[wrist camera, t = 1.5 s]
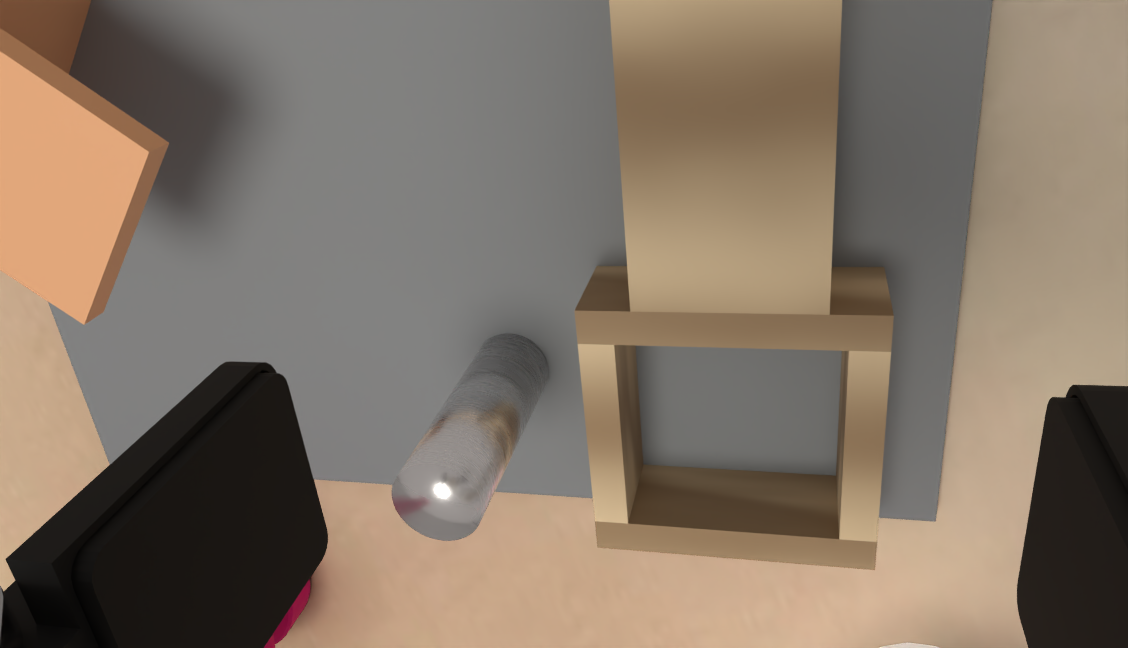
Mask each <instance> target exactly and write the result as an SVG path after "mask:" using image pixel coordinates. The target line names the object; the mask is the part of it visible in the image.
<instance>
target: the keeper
mask: <svg viewBox="0 0 1128 648" xmlns="http://www.w3.org/2000/svg"><path fill="white" fill-rule="evenodd" d="M90 3H91V0H0V270H1V271H2V272H4V273H6V274H7V275H9V276H10V277H12V278H13V279H15V280H16V281H18V282H19V283H21V284H22V285H24V286H25V287H27V288H28V289H30V290H31V291H33V292H35V293H36V294H38V295H39V296H41V297H42V298H44V299H45V300H47V301H48V302H50V303H51V304H53V305H54V306H56V307H57V308H59V309H61V310H62V311H64V312H65V313H67V314H68V315H70V316H71V317H73V318H74V319H76V320H77V321H79V322H80V323H82V324H83V325H85V324H86V323H88V322H89V321H91V320H92V319H94V318H95V317H97V316H98V315H100V314H101V313H103V312H104V310H105V307H106V305H107V302H108V299H109V297H110V294H111V292H112V289H113V287H114V284H115V281H116V279H117V276H118V274H119V271H120V269H121V266H122V263H123V261H124V258H125V256H126V253H127V250H128V248H129V245H130V243H131V240H132V238H133V235H134V232H135V230H136V227H137V225H138V222H139V220H140V217H141V214H142V212H143V209H144V207H145V204H146V202H147V199H148V196H149V194H150V191H151V189H152V186H153V183H154V181H155V178H156V176H157V173H158V171H159V168H160V165H161V163H162V160H163V158H164V155H165V153H166V150H167V147H168V145H169V142H167V141H166V140H164V139H163V138H161V137H160V136H159V135H157V134H156V133H154V132H153V131H151V130H150V129H148V128H147V127H145V126H144V125H142V124H141V123H139V122H138V121H136V120H135V119H134V118H132V117H131V116H129V115H128V114H126V113H125V112H123V111H122V110H120V109H119V108H117V107H116V106H114V105H113V104H111V103H110V102H108V101H107V100H106V99H104V98H103V97H101V96H100V95H98V94H97V93H95V92H94V91H92V90H91V89H89V88H88V87H86V86H85V85H83V84H82V83H80V82H79V81H78V80H76V79H75V78H73V77H72V76H70V75H69V72H70V69H71V65H72V62H73V59H74V55H75V52H76V49H77V46H78V42H79V39H80V36H81V32H82V29H83V26H84V23H85V19H86V16H87V13H88V9H89V6H90Z"/></svg>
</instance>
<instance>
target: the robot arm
mask: <svg viewBox="0 0 1128 648" xmlns="http://www.w3.org/2000/svg"><path fill="white" fill-rule="evenodd" d="M327 543H328V533H327V528H326V524H325V520H324V517H323V513H322V509H321V505H320V502H319V498H318V494H317V490H316V487H315V483H314V479H313V475H312V472H311V468H310V464H309V461H308V457H307V453H306V449H305V446H304V442H303V438H302V434H301V431H300V427H299V423H298V419H297V416H296V412H295V408H294V405H293V401H292V397H291V393H290V390H289V386H288V383H287V380H286V379H285V377H284V376H283V375H281V374H279V373H276V370H275V369H274V368H273V366H272V365H270V364H268V363H267V362H235V361H230V362H225V363H223V364H221V365H220V366H219V367H217V368H216V369H215V370H214V371H213V372H212V373H211V374H210V375H209V376H208V377H206V378H205V379H204V380H203V381H202V382H201V383H200V384H199V385H198V386H196V387H195V388H194V389H193V390H192V391H191V392H190V393H189V394H188V395H187V396H185V397H184V398H183V399H182V400H181V401H180V402H179V403H178V404H177V405H175V406H174V407H173V408H172V409H171V410H170V411H169V412H168V413H167V414H166V415H164V416H163V417H162V418H161V419H160V420H159V421H158V422H157V423H156V424H154V425H153V426H152V427H151V428H150V429H149V430H148V431H147V432H146V433H145V434H143V435H142V436H141V437H140V438H139V439H138V440H137V441H136V442H135V443H133V444H132V445H131V446H130V447H129V448H128V449H127V450H126V451H125V452H124V453H122V454H121V455H120V456H119V457H118V458H117V459H116V460H115V461H114V462H112V463H111V464H110V465H109V466H108V467H107V468H106V469H105V470H104V471H103V472H101V473H100V474H99V475H98V476H97V477H96V478H95V479H94V480H93V481H91V482H90V483H89V484H88V485H87V486H86V487H85V488H84V489H83V490H82V491H80V492H79V493H78V494H77V495H76V496H75V497H74V498H73V499H72V500H70V501H69V502H68V503H67V504H66V505H65V506H64V507H63V508H62V509H61V510H59V511H58V512H57V513H56V514H55V515H54V516H53V517H52V518H51V519H49V520H48V521H47V522H46V523H45V524H44V525H43V526H42V527H41V528H40V529H38V530H37V531H36V532H35V533H34V534H33V535H32V536H31V537H30V538H28V539H27V540H26V541H25V542H24V543H23V544H22V545H21V546H20V547H19V548H17V549H16V550H15V551H14V552H13V553H12V554H11V555H10V556H9V557H7V558H6V561H7V563H8V565H9V568H10V570H11V572H12V574H13V576H14V578H15V580H16V581H15V582H14V583H13V584H11V585H10V586H9V587H8V588H7V589H6V590H5V591H4V592H3V590H2V588H1V586H0V648H264V647H265V645H266V644H267V642H268V641H269V639H270V638H271V636H272V635H273V633H274V632H275V630H276V629H277V627H278V626H279V624H280V623H281V621H282V620H283V618H284V617H285V615H286V614H287V612H288V611H289V609H290V608H291V606H292V605H293V603H294V601H295V600H296V598H297V597H298V595H299V594H300V592H301V591H302V589H303V588H304V586H305V585H306V583H307V582H308V580H309V579H310V577H311V576H312V574H313V573H314V571H315V570H316V568H317V567H318V565H319V564H320V562H321V561H322V559H323V557H324V555H325V552H326V549H327ZM1017 604H1018V611H1019V616H1020V620H1021V624H1022V627H1023V630H1024V634H1025V637H1026V641H1027V644H1028V648H1128V386H1098V385H1072V386H1071V387H1070V388H1069V390H1068V392H1067V395H1066V398H1061V397H1052V398H1051V399H1050V400H1049V403H1048V405H1047V410H1046V415H1045V421H1044V427H1043V433H1042V439H1041V445H1040V451H1039V457H1038V463H1037V469H1036V475H1035V481H1034V487H1033V493H1032V499H1031V506H1030V512H1029V518H1028V524H1027V530H1026V536H1025V542H1024V548H1023V554H1022V560H1021V566H1020V572H1019V578H1018V585H1017Z"/></svg>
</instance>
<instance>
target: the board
mask: <svg viewBox="0 0 1128 648" xmlns="http://www.w3.org/2000/svg"><path fill="white" fill-rule="evenodd" d="M992 1H993V0H842V17H841V42H840V67H839V92H838V118H837V143H836V168H835V193H834V218H833V244H832V267H884V269H885V274H886V279H887V284H888V289H889V294H890V299H891V304H892V309H893V314H894V320H893V333H892V347H891V360H890V374H889V387H888V401H887V414H886V427H885V441H884V454H883V468H882V481H881V495H880V508H879V518H891V519H906V520H921V521H936V514H937V504H938V495H939V486H940V477H941V468H942V459H943V450H944V440H945V431H946V422H947V413H948V404H949V395H950V385H951V376H952V367H953V358H954V349H955V340H956V330H957V321H958V312H959V303H960V294H961V285H962V275H963V266H964V257H965V248H966V239H967V230H968V220H969V211H970V202H971V193H972V184H973V175H974V166H975V156H976V147H977V138H978V129H979V120H980V111H981V101H982V92H983V83H984V74H985V65H986V56H987V46H988V37H989V28H990V19H991V10H992ZM69 75H70V76H72V77H73V78H75V79H76V80H78V81H79V82H80V83H82V84H83V85H85V86H86V87H88V88H89V89H91V90H92V91H94V92H95V93H97V94H98V95H100V96H101V97H103V98H104V99H106V100H107V101H108V102H110V103H111V104H113V105H114V106H116V107H117V108H119V109H120V110H122V111H123V112H125V113H126V114H128V115H129V116H131V117H132V118H134V119H135V120H136V121H138V122H139V123H141V124H142V125H144V126H145V127H147V128H148V129H150V130H151V131H153V132H154V133H156V134H157V135H159V136H160V137H161V138H163V139H164V140H166V141H167V142H169V145H168V147H167V150H166V153H165V155H164V158H163V160H162V163H161V165H160V168H159V171H158V173H157V176H156V178H155V181H154V183H153V186H152V189H151V191H150V194H149V196H148V199H147V202H146V204H145V207H144V209H143V212H142V214H141V217H140V220H139V222H138V225H137V227H136V230H135V232H134V235H133V238H132V240H131V243H130V245H129V248H128V250H127V253H126V256H125V258H124V261H123V263H122V266H121V269H120V271H119V274H118V276H117V279H116V281H115V284H114V287H113V289H112V292H111V294H110V297H109V299H108V302H107V305H106V307H105V310H104V312H103V313H101V314H100V315H98V316H97V317H95V318H94V319H92V320H91V321H89V322H88V323H86V324H85V325H83V324H82V323H80V322H79V321H77V320H76V319H74V318H73V317H71V316H70V315H68V314H67V313H65V312H64V311H62V310H61V309H59V308H57V307H56V306H54V305H53V304H51V303H50V302H48V303H49V306H50V308H51V311H52V314H53V316H54V319H55V321H56V324H57V327H58V329H59V332H60V335H61V337H62V340H63V342H64V345H65V348H66V350H67V353H68V356H69V358H70V361H71V364H72V366H73V369H74V371H75V374H76V377H77V379H78V382H79V385H80V387H81V390H82V392H83V395H84V398H85V400H86V403H87V406H88V408H89V411H90V414H91V416H92V419H93V421H94V424H95V427H96V429H97V432H98V435H99V437H100V440H101V442H102V445H103V448H104V450H105V453H106V456H107V458H108V461H109V463H110V464H111V463H112V462H114V461H115V460H116V459H117V458H118V457H119V456H120V455H121V454H122V453H124V452H125V451H126V450H127V449H128V448H129V447H130V446H131V445H132V444H133V443H135V442H136V441H137V440H138V439H139V438H140V437H141V436H142V435H143V434H145V433H146V432H147V431H148V430H149V429H150V428H151V427H152V426H153V425H154V424H156V423H157V422H158V421H159V420H160V419H161V418H162V417H163V416H164V415H166V414H167V413H168V412H169V411H170V410H171V409H172V408H173V407H174V406H175V405H177V404H178V403H179V402H180V401H181V400H182V399H183V398H184V397H185V396H187V395H188V394H189V393H190V392H191V391H192V390H193V389H194V388H195V387H196V386H198V385H199V384H200V383H201V382H202V381H203V380H204V379H205V378H206V377H208V376H209V375H210V374H211V373H212V372H213V371H214V370H215V369H216V368H217V367H219V366H220V365H221V364H223V363H225V362H230V361H235V362H267V363H268V364H270V365H272V366H273V368H274V369H275V370H276V373H279V374H281V375H283V376H284V377H285V379H286V380H287V383H288V386H289V390H290V393H291V397H292V401H293V405H294V408H295V412H296V416H297V419H298V423H299V427H300V431H301V434H302V438H303V442H304V446H305V449H306V453H307V457H308V461H309V464H310V468H311V472H312V475H313V479H316V480H331V481H346V482H361V483H375V484H390V485H393V483H394V481H395V479H396V477H397V476H398V474H399V472H400V471H401V469H402V468H403V466H404V465H405V463H406V462H407V460H408V459H409V457H410V455H411V454H412V452H413V451H414V449H415V448H416V446H417V445H418V443H419V442H420V440H421V439H422V437H423V435H424V434H425V432H426V431H427V429H428V428H429V426H430V425H431V423H432V422H433V420H434V418H435V417H436V415H437V414H438V412H439V411H440V409H441V408H442V406H443V405H444V403H445V402H446V400H447V398H448V397H449V395H450V394H451V392H452V391H453V389H454V388H455V386H456V385H457V383H458V382H459V380H460V378H461V377H462V375H463V374H464V372H465V371H466V369H467V368H468V366H469V365H470V363H471V361H472V360H473V358H474V357H475V355H476V354H477V352H478V351H479V349H480V348H481V346H482V345H483V344H484V342H486V341H487V340H488V339H489V338H491V337H493V336H495V335H499V334H505V333H510V334H517V335H520V336H523V337H526V338H528V339H529V340H531V341H532V342H534V343H535V344H536V345H537V346H538V347H539V348H540V349H541V350H542V351H543V353H544V354H545V356H546V358H547V361H548V364H549V372H550V373H549V379H548V382H547V384H546V386H545V388H544V390H543V392H542V394H541V396H540V399H539V401H538V403H537V405H536V407H535V409H534V411H533V413H532V415H531V417H530V419H529V421H528V424H527V426H526V428H525V430H524V432H523V434H522V436H521V438H520V440H519V442H518V444H517V446H516V448H515V451H514V453H513V455H512V457H511V459H510V461H509V463H508V465H507V467H506V469H505V471H504V473H503V476H502V478H501V480H500V482H499V484H498V486H497V488H496V490H495V492H508V493H523V494H538V495H552V496H567V497H582V498H593V495H592V485H591V475H590V465H589V454H588V444H587V434H586V424H585V414H584V403H583V393H582V383H581V373H580V363H579V352H578V342H577V332H576V322H575V312H574V310H575V308H576V306H577V304H578V302H579V300H580V298H581V296H582V294H583V292H584V290H585V288H586V286H587V284H588V282H589V280H590V278H591V276H592V274H593V272H594V270H595V268H596V266H627V256H626V241H625V227H624V212H623V197H622V183H621V168H620V153H619V139H618V124H617V109H616V94H615V80H614V65H613V50H612V36H611V21H610V6H609V0H91V3H90V6H89V9H88V13H87V16H86V19H85V23H84V26H83V29H82V32H81V36H80V39H79V42H78V46H77V49H76V52H75V55H74V59H73V62H72V65H71V69H70V72H69ZM635 346H636V361H637V376H638V391H639V406H640V421H641V436H642V452H643V465H659V466H676V467H694V468H711V469H728V470H746V471H763V472H780V473H798V474H815V475H832V476H836V464H837V443H838V421H839V400H840V379H841V358H842V351H834V350H795V349H756V348H716V347H677V346H637V345H635Z"/></svg>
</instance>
